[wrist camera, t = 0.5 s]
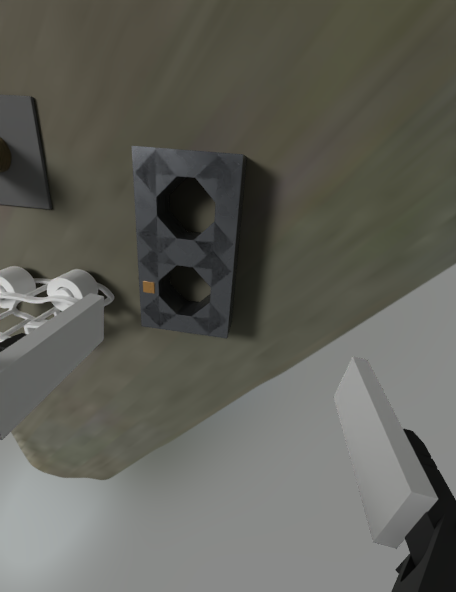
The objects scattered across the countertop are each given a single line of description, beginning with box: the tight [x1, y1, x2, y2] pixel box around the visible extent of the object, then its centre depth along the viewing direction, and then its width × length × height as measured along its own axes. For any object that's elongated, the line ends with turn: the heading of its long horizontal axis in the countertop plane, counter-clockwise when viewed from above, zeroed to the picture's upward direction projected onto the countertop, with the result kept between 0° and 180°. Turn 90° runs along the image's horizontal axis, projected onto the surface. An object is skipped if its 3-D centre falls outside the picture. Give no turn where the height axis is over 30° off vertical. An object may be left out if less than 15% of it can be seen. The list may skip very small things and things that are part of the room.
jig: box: [132, 146, 247, 338], centre depth 39 cm, size 24×13×5 cm, turn 176°
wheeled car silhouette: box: [0, 266, 114, 342], centre depth 45 cm, size 20×11×7 cm, turn 90°
